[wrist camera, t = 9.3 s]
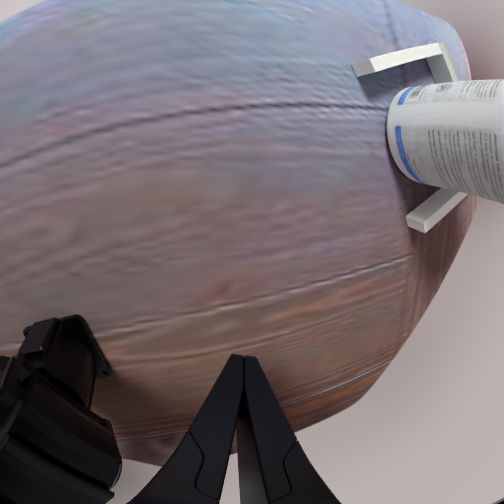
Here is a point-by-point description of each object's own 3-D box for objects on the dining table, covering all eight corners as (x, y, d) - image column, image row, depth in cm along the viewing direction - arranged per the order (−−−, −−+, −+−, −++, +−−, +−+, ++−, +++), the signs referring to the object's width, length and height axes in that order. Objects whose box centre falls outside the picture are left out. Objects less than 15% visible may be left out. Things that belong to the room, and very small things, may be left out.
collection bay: (407, 226, 26) (425, 233, 23) (351, 64, 19) (369, 58, 16) (465, 177, 27) (480, 181, 24) (426, 45, 20) (442, 42, 17)
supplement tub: (436, 188, 26) (553, 226, 12) (375, 172, 23) (530, 212, 9) (444, 104, 23) (560, 113, 9) (384, 71, 20) (529, 55, 6)
